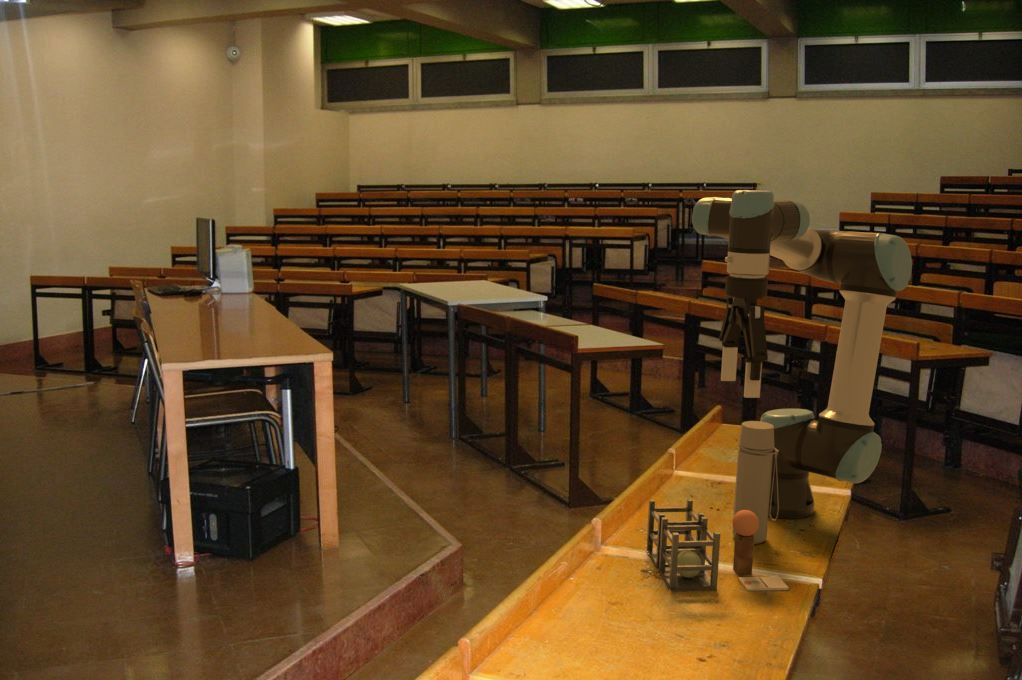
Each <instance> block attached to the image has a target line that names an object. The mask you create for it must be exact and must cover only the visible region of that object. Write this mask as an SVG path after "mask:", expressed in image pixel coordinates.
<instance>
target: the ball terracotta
mask: <svg viewBox="0 0 1022 680" xmlns="http://www.w3.org/2000/svg"><path fill="white" fill-rule="evenodd" d="M731 524H732V529H733V528H734V530H735V531H736V532H737V533H738V534H740V535H742V536H750V535H753V534H754V533H755V532H756V531H757V530H758V527H759V520H758V517H757V516H756V515H755V514H754V513H753V512H752V511H749V510H741V511H739V512H737V513H736V514H735V515H734V514H733V517H732V523H731Z"/></svg>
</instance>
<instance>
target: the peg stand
mask: <svg viewBox="0 0 1022 680" xmlns="http://www.w3.org/2000/svg"><path fill="white" fill-rule="evenodd" d="M754 547H755V544H754V536H753V535H750V536H742V535H740V534H738V533H736V535H735V538H734V548H733V560H732V561H733V563H732V569H733V570H734V572H735V573H736V575H738V576H740V575H742V576H743V575H744V576H745V575H750V576H751V575H753V564H754V563H753V560H754V549H755V548H754Z"/></svg>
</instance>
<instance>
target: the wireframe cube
mask: <svg viewBox="0 0 1022 680" xmlns="http://www.w3.org/2000/svg"><path fill="white" fill-rule="evenodd" d="M685 505H686V506H672V507H671V506H669V507H667V506H663V507H662V506H661V507H656V500H655V499H648V511H647V512H648V515H647V534H646V550H647V551H648V553H649V555H650V556H649V555H648V556H649V557H650V560H651V561H652V563H653V564H654V565H653V566H655V567H656V569H657V570H659V556H660V537H661V519H662V517H666V514H665V513H685V520H684V521H683V520H681V521H677V520H675V521H669V520H668V526H677V525H701V517H705V514H704V513H705V512H697V513H696V512H695V511H694V509H693V508H694V507H693V506H694V500H693V499H692V498H691V499H690V498H689V499H688V498H686V504H685ZM655 521H656V523H657V529H654V527H655ZM677 532H678V534H679V536H680V535H684V538H683V539H684V540H683V541H700V530H696V536H695V535H694V534H693V532H692V530H684V531H670V533H671V534H672V533H677ZM654 544H655V547H654ZM671 546H672V544H667V547H666V549H671ZM678 549H699V546H679V547H678ZM647 551H646V552H647ZM648 553H647V554H648ZM697 555H698V556H699V554H697ZM668 556H669V557H670V559H671V554H668ZM665 567H669V565H668V564H667V562H666V565H665Z"/></svg>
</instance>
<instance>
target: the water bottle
mask: <svg viewBox="0 0 1022 680" xmlns="http://www.w3.org/2000/svg"><path fill="white" fill-rule="evenodd" d="M760 421H761V420H747V421H743V422H741V425H740V431H739V438H738V442H737V446H738V448H737V461H736V474H735V475H736V476H735V478H736V479H735V487H734V488H735V489H734V491H735V492H734V502H733V503H734V504H733V505H734V507H733V516H734V515H735V514H736V513H737V512H739V511H741V510H749V511H752V512H753V513H754V514H755V515H756V516H757V517H758V520H759V527H758V530H757V531H756V532H755V533H754V534H753V536H754V545H758V544H762V543H764V542H765V541H766V540H767V538H768V526H769V518H770V520H771V521H774V522H776V521H777V519H778V518H777V517H775V518H773V517H771V514H770V512H771V502H772V492H773V483H772V492H771V501H770V488H771V475H772V461H773V454H775V462H776V476H777V454H778V451H779V450H777V449H776V448H774V426H773V425H772V424H769V423H766V422H760ZM774 449H775V453H773V452H772V450H774ZM774 472H775V465H774ZM773 482H774V474H773ZM769 501H770V510H769ZM777 501H778V511H779V500H778V479H777ZM778 511H777V516H778ZM768 515H769V516H768ZM736 533H737V532H736V531H735V530H734V528H733V527H732V533H731V534H732V535H733V538H734V539H735V535H736Z"/></svg>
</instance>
